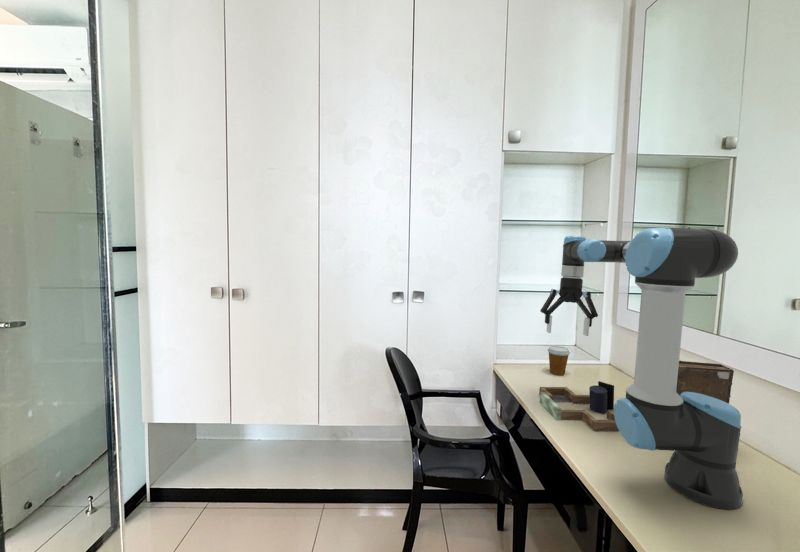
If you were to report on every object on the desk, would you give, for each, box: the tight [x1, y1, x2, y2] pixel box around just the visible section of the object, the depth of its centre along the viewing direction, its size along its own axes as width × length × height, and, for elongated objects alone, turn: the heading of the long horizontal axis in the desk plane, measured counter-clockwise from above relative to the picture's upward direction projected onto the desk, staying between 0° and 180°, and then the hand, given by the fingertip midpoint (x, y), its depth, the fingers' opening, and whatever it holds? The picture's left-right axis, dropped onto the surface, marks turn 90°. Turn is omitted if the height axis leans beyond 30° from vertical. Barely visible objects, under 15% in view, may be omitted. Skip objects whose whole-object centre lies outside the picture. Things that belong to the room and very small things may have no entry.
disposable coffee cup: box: [547, 345, 571, 377], centre depth 171 cm, size 10×10×12 cm
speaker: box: [588, 380, 615, 414], centre depth 134 cm, size 8×6×10 cm
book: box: [676, 360, 735, 404], centre depth 112 cm, size 17×7×25 cm, turn 75°
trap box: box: [538, 386, 619, 432], centre depth 133 cm, size 29×22×4 cm
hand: (567, 333), depth 137 cm, fingers open, 13 cm apart
